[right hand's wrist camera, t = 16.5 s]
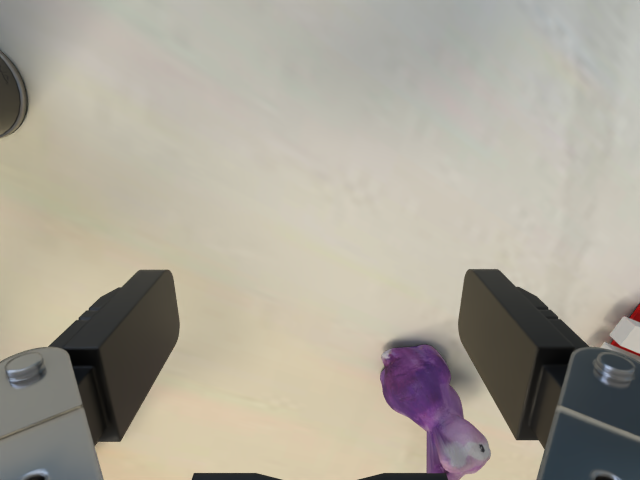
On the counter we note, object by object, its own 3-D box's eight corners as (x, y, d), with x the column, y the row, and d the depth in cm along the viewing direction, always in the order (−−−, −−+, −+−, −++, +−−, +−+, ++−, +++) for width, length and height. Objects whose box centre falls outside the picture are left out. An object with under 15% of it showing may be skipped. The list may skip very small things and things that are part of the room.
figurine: (459, 396, 52) (511, 511, 38) (380, 402, 52) (402, 517, 38) (461, 335, 48) (519, 435, 34) (377, 341, 49) (400, 443, 35)
